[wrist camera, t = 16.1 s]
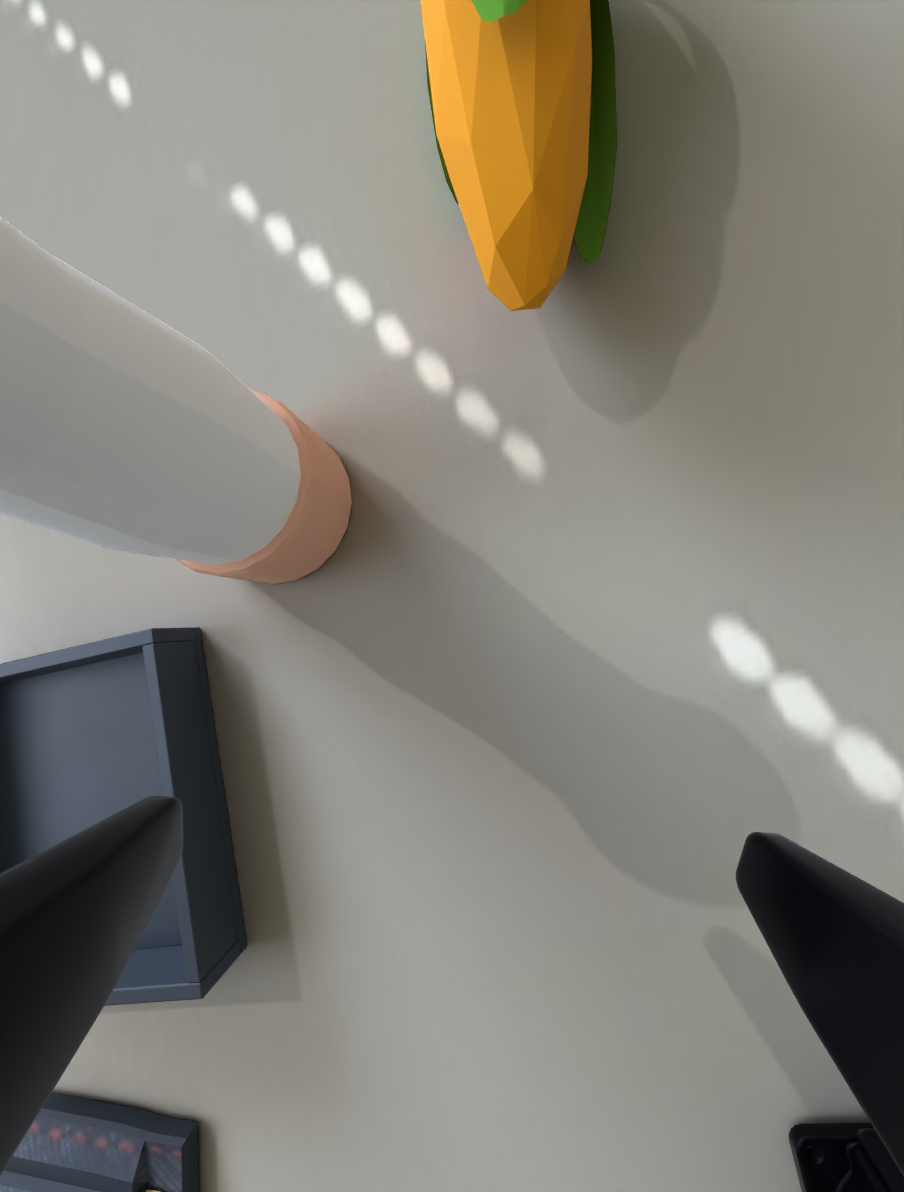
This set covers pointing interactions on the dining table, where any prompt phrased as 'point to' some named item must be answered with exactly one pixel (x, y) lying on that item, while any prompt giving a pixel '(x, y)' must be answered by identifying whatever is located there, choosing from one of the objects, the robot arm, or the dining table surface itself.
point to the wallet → (103, 1150)
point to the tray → (127, 787)
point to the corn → (525, 132)
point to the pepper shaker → (150, 435)
